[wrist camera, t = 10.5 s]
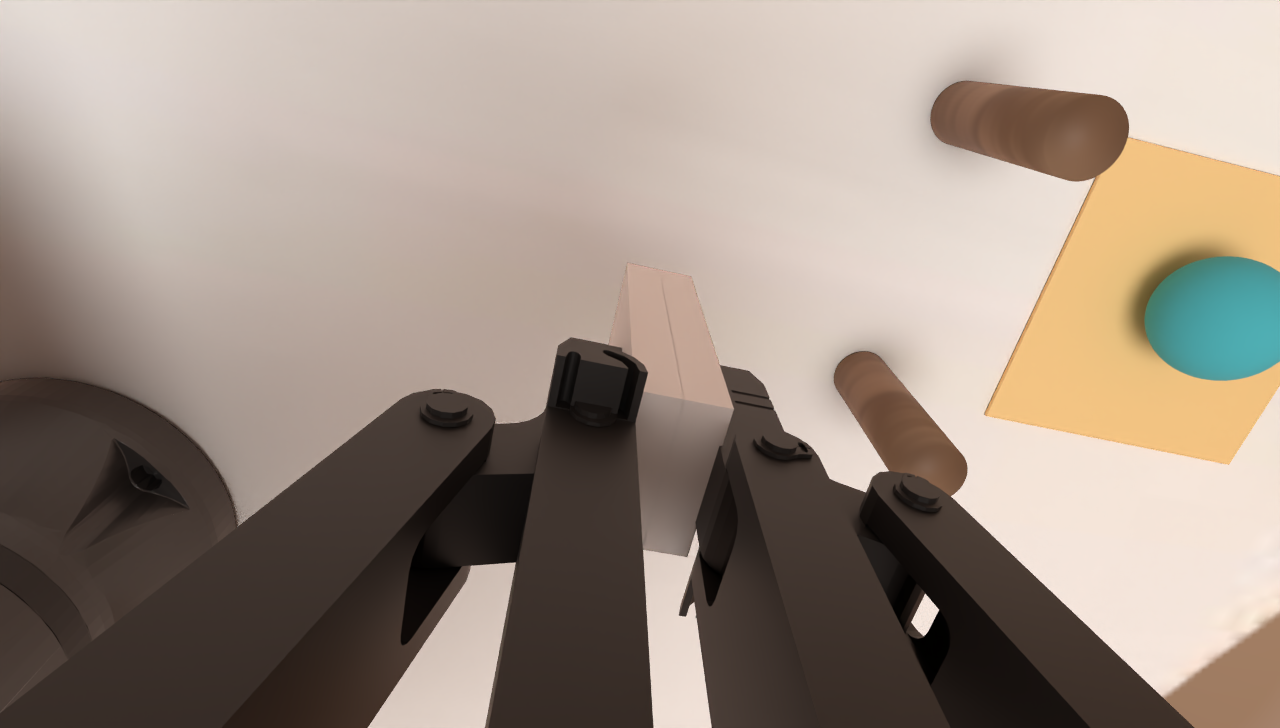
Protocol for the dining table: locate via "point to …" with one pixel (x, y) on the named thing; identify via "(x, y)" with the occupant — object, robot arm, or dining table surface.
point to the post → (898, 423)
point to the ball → (1217, 318)
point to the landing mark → (1142, 308)
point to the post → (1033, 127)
